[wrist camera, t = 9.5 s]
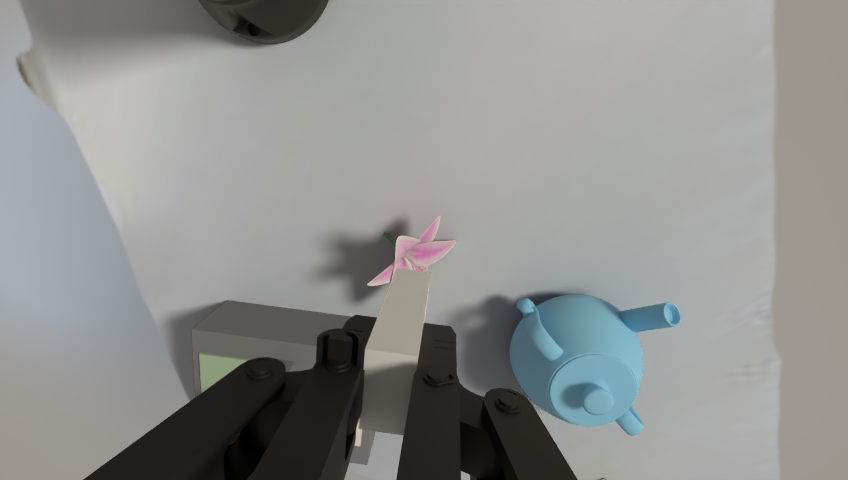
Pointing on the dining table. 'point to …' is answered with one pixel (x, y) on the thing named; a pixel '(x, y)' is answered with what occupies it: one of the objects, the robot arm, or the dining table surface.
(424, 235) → the lily
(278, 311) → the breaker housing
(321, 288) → the dining table surface
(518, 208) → the dining table surface
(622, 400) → the teapot
